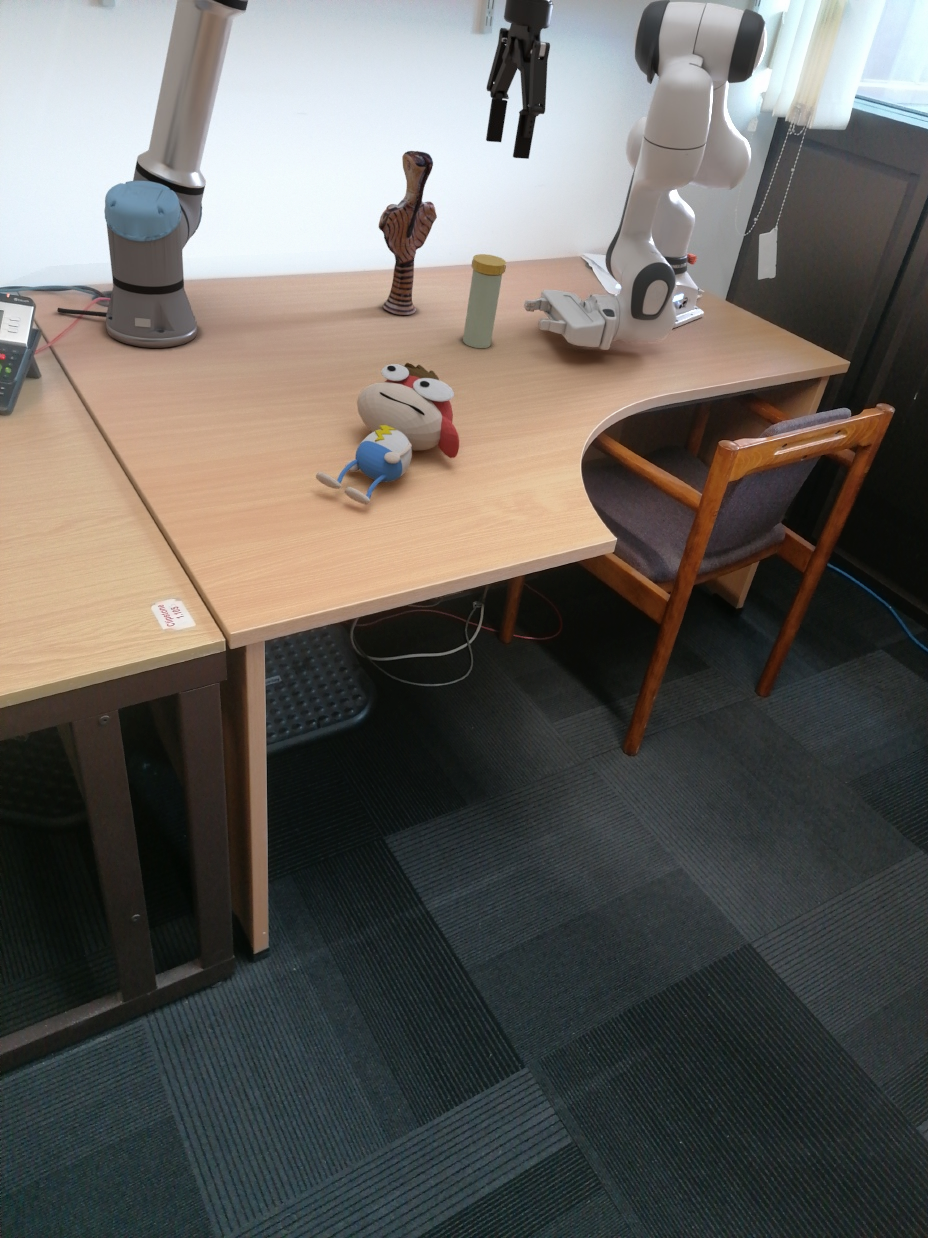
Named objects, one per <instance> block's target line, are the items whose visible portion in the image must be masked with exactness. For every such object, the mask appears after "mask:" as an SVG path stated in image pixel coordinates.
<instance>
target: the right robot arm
mask: <svg viewBox="0 0 928 1238" xmlns="http://www.w3.org/2000/svg"><path fill="white" fill-rule="evenodd" d="M766 25H767V23H766V21H765V19H764V17H763V16H762V14H760V13H758V12H756V11H754V10H751V9H748V8H745V10H742V9H740V8H737V7H733V6H729V5H726V4H720V3H715V2H695V1H670V0H656V1H655V0H654V1H651V2H650V3H648V5H647V6H646V7H645V8H644V9H643V12H642V14H641V16H640V18H639V19H638V22H637V24H636V27H635V30H634V33H633V34H634V36H633V50H634V59H635V62H636V64H637V67H638V68H639V70H640V71H641V72H642V73H643V74H644V75H645V76H646V81H647V83H648V84H650V85H651V84H652V83H653V82H654V78H655V76H657V77H658V80H657V83H656V86H655V88H654V91H653V95H652V98H651V101H650V104H649V108H648V110H647V114H646V115H647V116H643V117H641V118H640V119H639V120H637V121H636V122H635V123H634V125H633V126H632V127H631V128H630V131H629V132H628V135H627V138H626V142H625V155H626V158H627V161H628V163H629V166H630V167H631V168H632V170H633V172H632V175H631V179H630V182H629V186H628V190H627V194H626V198H625V203H624V205H623V206H624V207H623V210H622V213H621V217H620V218H621V219H620V221H619V226H618V228H617V231H616V232H615V234H614V236H613V238H612V239H611V242H610V243H609V246H608V247H607V250H606V252H605V253H606V254H605V259H604V260H605V261H604V262H605V268H606V270H607V272H608V274H609V275H610V276H611V277H612V278H613V279H614V280H615V281H616V282H617V284H616V285H615V289H618V292H617V293H614V295H610V294H595V293H594V294H593V293H592V294H589V295H588V296H587V297H586V298H585V300H582V299H581V298H580V297H579V296H578V295H577V294H576V293H574V292H570V291H565V290H564V291H563V290H556V289H543V290H542V291H541V293H540V297H539V298H536V299H526V300H525V301H524V305H523V308H524V310H525V311H526V312H531V313H534V312H535V311H538V310H539V311H540V312H543V313H544V314H545V316H546V317H547V318H546V317H545V318H543V317H541V318H539V319H538V323H537V324H538V325H537V326H538V328H539V329H540V330H541V331H548V332H552V333H555V334H559V335H561V336H562V337H563V338H564V339H565V340H566V342H567V343H568V344H571V345H573V346H578V347H586V348H598V349H599V350H606V351H607V350H610V347H611V345H612V342H614V341H623V342H625V343H635V344H636V343H639V344H640V343H654V342H658V341H661V340H664V339H665V338H667V337H668V336H669V335H670V334H671V332H672V331H673V329H675V328H678V327H681V326H683V325H686V324H689V323H691V322H693V321H695V320H698V319H701V318H703V317H704V311H703V309H701V308H700V307H699V306H697V305H696V304H697V301H698V296H699V292H700V288H699V287H698V286H697V283H696V282H695V281H694V279H692V277H691V276H690V274H689V273H688V272H687V271H688V264H689V265H691V266H693V265H695V264H696V262H697V261H698V257H697V255H696V254H692V253H691V252H689V253H688V249H689V246H690V243H691V238H692V236H693V232H694V228H695V225H696V216H695V212H694V210H693V209H692V208H691V206H690V205H689V204H688V203H687V202H686V201H685V200H683V198H682V197H681V196H680V195H679V192H678V190H680V189H681V188H684V187H685V186H687V185H690V186H694V187H699V188H702V189H706V190H716V191H717V190H719V191H725V190H728V191H729V190H732V189H735V188H736V187H737V186H739V184H741V182H742V181H743V180H744V179H745V178H746V176H747V174H748V172H749V170H750V167H751V161H752V151H751V147H750V144H749V141H748V140H747V139H746V138H745V137H744V136H743V135H742V134H741V133H740V132H739V131H738V129H737V128H736V127H735V125H734V123H733V122H732V119H731V117H730V115H729V111H728V108H727V106H728V105H727V102H728V101H727V100H728V91H729V84H737V83H744V82H746V81H747V80H749V79H751V77H753V75H754V74H755V71H756V70H757V68H758V67H759V65H760V64H761V62H762V60H763V57H764V55H765V52H766V49H767V40H768V39H767V38H768V37H767V30H766Z"/></svg>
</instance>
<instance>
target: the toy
mask: <svg viewBox="0 0 928 1238" xmlns="http://www.w3.org/2000/svg"><path fill="white" fill-rule="evenodd" d="M380 371H381V372H380V373H381V376H382V377H383V378H384V379H385V381H381V382H374V383H371V384H369V385H368V386H366V387H365V388H363V389H362V390H361V391H360V393H359V395H358V397H357V399H356V404H357V406H356V407H357V412H358V414H359V417H360V418H361V420H362V422H363V424H365V426H366V427H367V428H368V429H369V430H370V431H371V433H369V434H368V435H367V436H365V438H364V439H362V441H361V442H360V443H359V445H358V447H357V449H356V451H355V457H354V459H353V460H348V461H347V462H345V464H344V465H345V466H344V468H343V469H342V470H341V472H340V473H339V475H338V477H337V479H336V478H334V477H333V476H331V475H330V474H327V473H325V472H322V471H318V472H316V474H315V478H316V480H317V482H318V483H319V482H320V483H321V484H322V485H324V486H326V487H328V488H331V489H334V490H339V489H341V488H342V482H343V479H344V477H345V475H346V474H347V473H348V472H350V473H356V472H358V471H360V472H362V474H364V475H365V476H366V477H368V478H369V479H372V480H374V481H373V482H372V483H371V485H370V486H369V488H368V489H367V492H366V494H365V493H363V492H362V491H360V490H359V489H356V488H354V487H352V486H347V487H345V489H344V493H345V494H344V495H346V496H347V497H348V498H350V499H351V500H353V501H354V502H357V503H360V504H364V505H369V504H371V496H372V494H373V491H374V490H375V488H376V487H377V486H378V485H379V483H389V482H391V483H392V482H394V481H396V480H399V479H400V478H401V477H402V476H403V475H405V473H406V472H407V471H408V469H409V468H410V467H409V466H410V464H411V461H412V457H413V451H428V450H431V449H433V448H434V447H438V448H439V450H440V451H441V452H442V453H443V454H444V455H445V456H446V457H448V458H450V459H455V458H456V457H457V456H458V454H459V449H460V437H459V433H458V430H457V428H456V427H455V425H454V423H453V422H454V421H453V420H454V412H453V407H452V404H451V403H452V402H451V400H452V399H453V398H454V397H455V392H454V390H453V388H452V387H451V386H450V385H448V384H447V383H446V382H444V381H442V380H440V378H439V376H438V375H437V373H436V372H435V371H434V370H433V369H430V370H429V371H428V370H427V369H426V368H424V367H423V366H422V365H421V364H417V365H416V366H415V365H413V363H409V362H406V363H405V364H404V365H403V364H398V363H391V364H386V365H385V366H384V367H382V369H381V370H380Z"/></svg>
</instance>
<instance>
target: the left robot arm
mask: <svg viewBox="0 0 928 1238" xmlns="http://www.w3.org/2000/svg"><path fill="white" fill-rule="evenodd" d="M248 3H249V0H176V6H175V11H174V17H173V21H172V27H171V30H170V31H171V32H170V37H169V43H168V47H167V53H166V58H165V63H164V68H163V73H162V79H161V84H160V88H159V94H158V99H157V104H156V109H155V115H154V120H153V124H152V125H153V126H152V131H151V135H150V141H149V146H148V150H146V151H144V152H142V153H140V154H139V155H137V158H136V163H135V167H134V168H135V169H134V173H133V179H132V180H128V181H125V183H121V182H120V183H118V184H115V185H113V186H111V188H109V190H107V193H106V194H105V197H104V220H105V222H106V229H107V232H106V233H107V241H108V249H109V259H110V268H111V277H112V291H111V295H110V300H109V303H108V307H107V311H106V312H104V311H94V310H85V309H71V308H70V309H69V308H63V307H57V313H60V314H68V315H78V316H79V315H81V316H92V317H100V318H101V317H102V318H105V326H106V328H105V329H106V332H107V334H108V335H109V336H110V337H111V338H112V339H114V340H116V341H117V342H120V343H123V344H126V345H130V346H133V347H140V348H152V349H157V348H160V349H163V348H171V347H177V346H182V345H184V344H187V343H189V342H191V341H193V340H194V339H195V338H196V337H197V335H198V324H197V320H196V317H195V315H194V311H193V309H192V306H191V304H190V300H189V298H188V296H187V293H186V290H185V278H184V260H183V259H184V258H183V250H184V249H185V247H186V246H187V243H188V242H189V241H190V238H192V236H194V235H195V233H196V232H197V231H198V229H199V227H200V225H201V221H202V217H203V204H202V202H203V197H204V193H205V188H206V183H207V181H206V179H205V177H204V175H203V173H202V172H201V164H202V160H203V156H204V151H205V147H206V142H207V138H208V134H209V130H210V125H211V121H212V115H213V112H214V106H215V102H216V98H217V93H218V90H219V84H220V80H221V76H222V71H223V67H224V63H225V58H226V54H227V50H228V45H229V40H230V37H231V32H232V29H233V28H232V27H233V23H234V20H235V19H236V18H237V17H239V16H241V15H243V14H245V13H246V12H247V8H248ZM553 7H554V3H553V1H552V0H505V6H504V14H503V19H504V21H505V22H507V23H510V27H509V28H508V27H507V28H506V27H500V28H499V33H498V39H497V46H496V50H495V54H494V57H493V62H492V65H491V69H490V72H489V76H488V79H487V83H486V91H487V92H490V95H489V96H490V97H491V101H490V102H491V103H490V109H489V116H488V124H487V130H486V136H485V141H487V142H489V143H490V142H492V143H502V140H503V134H504V127H505V120H506V114H507V107H508V100H509V99H510V97H509V94H508V92H509V89H510V87H511V85H512V82H513V80H514V78H515V76H516V74H517V71H519V73H520V86H521V87H520V88H521V99H522V100H521V101H522V102H521V103H522V104H521V105H522V108H521V110H519V111H518V113H519V114H518V122H517V128H516V133H515V134H516V135H515V141H514V146H513V152H512V158H514V159H526V160H527V159H528V160H529V159H530V154H531V148H532V142H533V137H534V131H535V124H536V120H537V117H538V116H540V115H544V114H545V113H546V100H547V80H548V59H549V54H550V49H551V44H550V42H547V41H542V35H541V34H542V31H543V29H545V30H546V29H548V28H549V27H550V26H551V20H552V16H553V15H552V14H553V9H554V8H553Z"/></svg>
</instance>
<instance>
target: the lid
mask: <svg viewBox="0 0 928 1238" xmlns="http://www.w3.org/2000/svg"><path fill="white" fill-rule="evenodd" d="M470 266H471V268H472V270H473V269H474V270H475V271H477V272H480V273H483V274H488V275H501V274H502V275H503V274H505V273H506V268H507V261H506V260H505V259H504V258H502V257H500V256H498V255H497V256H496V255H492V254H483V253H480V254H479V253H478V254H475V255H474V256H473V257H472V260H471V265H470Z"/></svg>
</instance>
